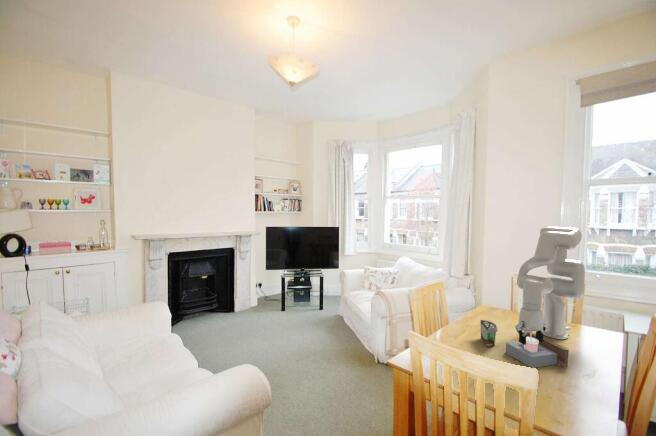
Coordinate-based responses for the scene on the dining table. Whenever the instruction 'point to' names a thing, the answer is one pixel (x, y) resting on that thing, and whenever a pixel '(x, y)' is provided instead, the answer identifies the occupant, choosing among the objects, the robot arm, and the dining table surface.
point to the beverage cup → (531, 344)
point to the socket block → (531, 355)
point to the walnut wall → (561, 351)
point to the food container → (488, 333)
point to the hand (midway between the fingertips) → (530, 342)
